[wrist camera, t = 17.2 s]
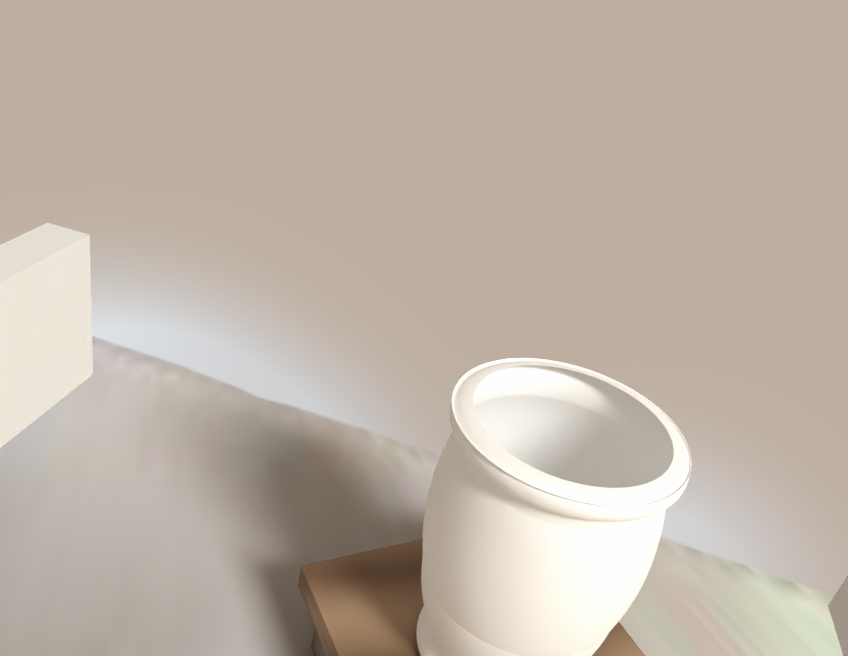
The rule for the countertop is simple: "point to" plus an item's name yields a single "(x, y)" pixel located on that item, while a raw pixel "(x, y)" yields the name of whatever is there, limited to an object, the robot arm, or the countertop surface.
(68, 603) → the countertop surface
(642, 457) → the jar
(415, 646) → the stand
